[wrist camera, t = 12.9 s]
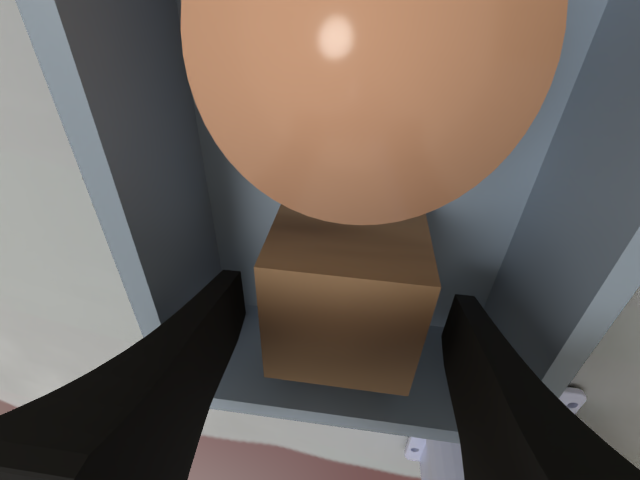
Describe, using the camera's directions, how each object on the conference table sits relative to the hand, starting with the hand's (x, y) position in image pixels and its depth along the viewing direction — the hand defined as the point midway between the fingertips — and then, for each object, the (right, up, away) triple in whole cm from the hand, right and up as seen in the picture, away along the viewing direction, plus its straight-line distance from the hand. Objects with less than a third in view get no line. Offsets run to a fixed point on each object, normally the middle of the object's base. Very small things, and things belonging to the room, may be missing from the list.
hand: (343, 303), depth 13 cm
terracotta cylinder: (+1, +8, -2) cm, 9 cm away
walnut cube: (0, +2, +3) cm, 3 cm away
